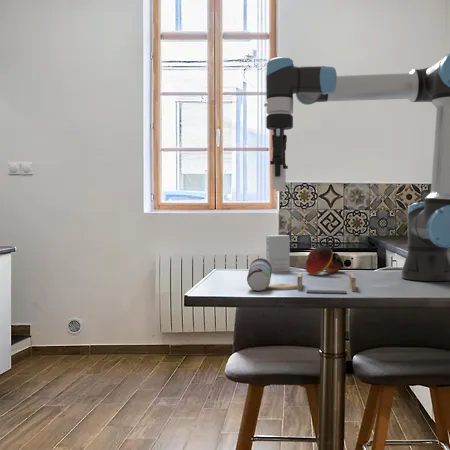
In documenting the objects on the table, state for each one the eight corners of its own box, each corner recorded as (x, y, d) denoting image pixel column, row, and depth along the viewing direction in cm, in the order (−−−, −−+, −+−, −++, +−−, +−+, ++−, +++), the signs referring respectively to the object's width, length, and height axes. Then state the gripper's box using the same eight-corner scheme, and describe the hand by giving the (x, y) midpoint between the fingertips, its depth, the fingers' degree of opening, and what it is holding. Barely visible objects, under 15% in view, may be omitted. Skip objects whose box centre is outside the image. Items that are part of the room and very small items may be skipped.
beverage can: (267, 254, 161) (264, 260, 149) (276, 279, 162) (273, 288, 150) (246, 261, 162) (241, 268, 151) (255, 286, 163) (250, 295, 151)
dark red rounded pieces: (323, 294, 201) (293, 272, 194) (331, 263, 207) (303, 241, 200) (351, 290, 192) (321, 267, 185) (359, 257, 198) (330, 234, 191)
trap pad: (346, 291, 151) (346, 290, 151) (347, 294, 147) (347, 292, 147) (306, 291, 152) (306, 290, 152) (306, 293, 148) (306, 292, 148)
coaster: (300, 285, 165) (300, 283, 165) (299, 290, 153) (299, 289, 153) (257, 284, 167) (257, 283, 167) (253, 289, 155) (253, 288, 155)
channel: (352, 285, 164) (352, 273, 164) (355, 291, 152) (355, 277, 152) (298, 284, 166) (298, 272, 166) (297, 289, 154) (297, 276, 154)
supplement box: (286, 270, 210) (286, 234, 210) (290, 272, 203) (290, 235, 202) (265, 270, 210) (266, 234, 209) (268, 272, 202) (268, 235, 202)
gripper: (269, 121, 178) (269, 191, 179) (262, 107, 154) (262, 188, 154) (294, 121, 177) (294, 191, 177) (291, 106, 152) (290, 188, 153)
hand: (279, 190), depth 166 cm, fingers open, 13 cm apart
